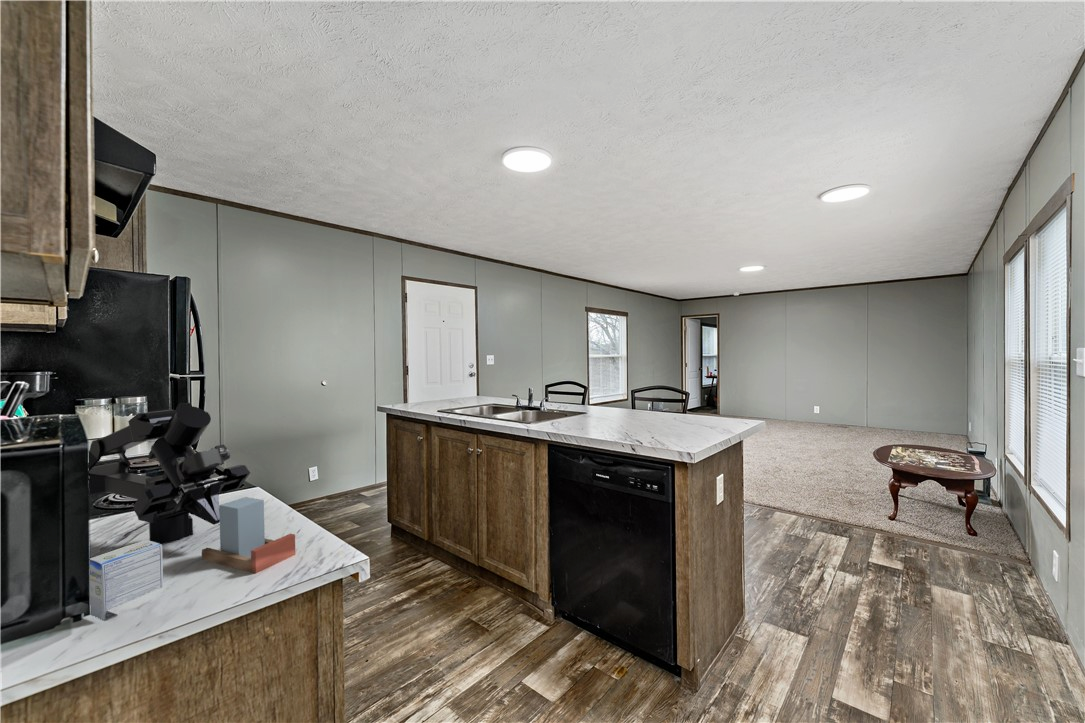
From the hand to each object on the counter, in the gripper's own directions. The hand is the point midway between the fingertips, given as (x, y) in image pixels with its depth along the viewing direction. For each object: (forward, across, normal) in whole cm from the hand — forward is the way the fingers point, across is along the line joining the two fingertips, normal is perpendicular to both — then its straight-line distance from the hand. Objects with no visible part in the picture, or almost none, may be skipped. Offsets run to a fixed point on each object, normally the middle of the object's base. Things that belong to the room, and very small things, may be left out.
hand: (217, 522), depth 90 cm
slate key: (+9, 0, -1) cm, 9 cm away
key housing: (+11, 0, -1) cm, 11 cm away
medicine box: (+8, -16, +2) cm, 18 cm away
